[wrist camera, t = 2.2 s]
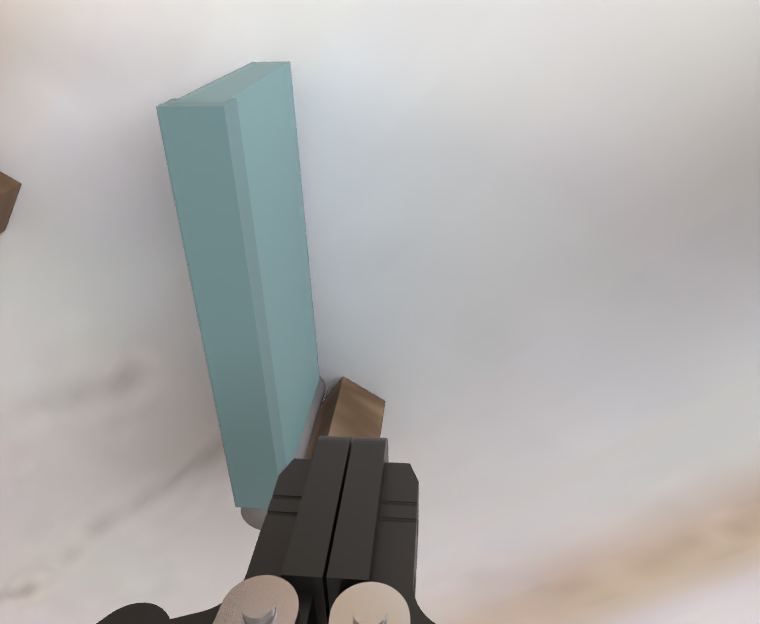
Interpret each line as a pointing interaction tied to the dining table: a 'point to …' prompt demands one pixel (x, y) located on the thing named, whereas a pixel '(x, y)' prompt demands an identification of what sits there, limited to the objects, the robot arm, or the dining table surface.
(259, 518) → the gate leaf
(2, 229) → the gate posts
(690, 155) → the dining table surface
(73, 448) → the dining table surface
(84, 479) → the dining table surface
